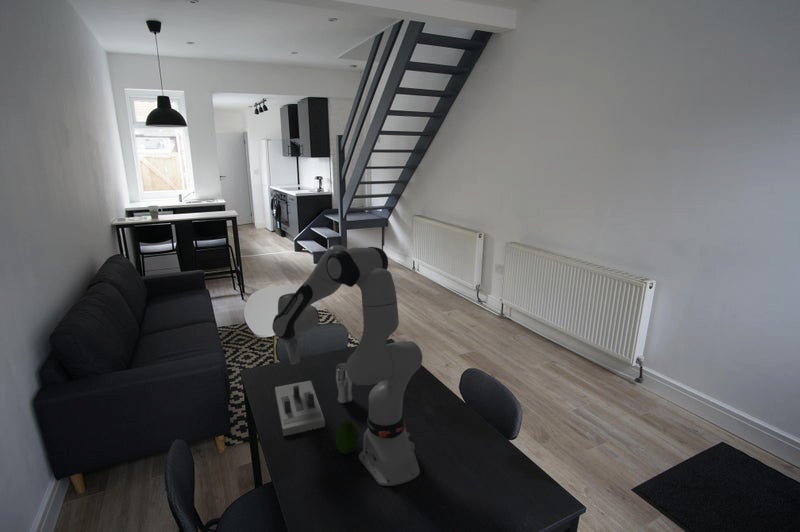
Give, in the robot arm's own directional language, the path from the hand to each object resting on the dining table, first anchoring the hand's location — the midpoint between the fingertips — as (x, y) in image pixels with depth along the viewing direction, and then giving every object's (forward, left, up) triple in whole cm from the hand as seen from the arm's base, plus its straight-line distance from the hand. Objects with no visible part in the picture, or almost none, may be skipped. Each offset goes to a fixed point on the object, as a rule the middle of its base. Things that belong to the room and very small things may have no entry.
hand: (292, 363), depth 172 cm
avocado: (-41, -12, -15) cm, 45 cm away
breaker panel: (-10, 0, -15) cm, 18 cm away
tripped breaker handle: (-6, 0, -12) cm, 13 cm away
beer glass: (-10, -19, -15) cm, 26 cm away
